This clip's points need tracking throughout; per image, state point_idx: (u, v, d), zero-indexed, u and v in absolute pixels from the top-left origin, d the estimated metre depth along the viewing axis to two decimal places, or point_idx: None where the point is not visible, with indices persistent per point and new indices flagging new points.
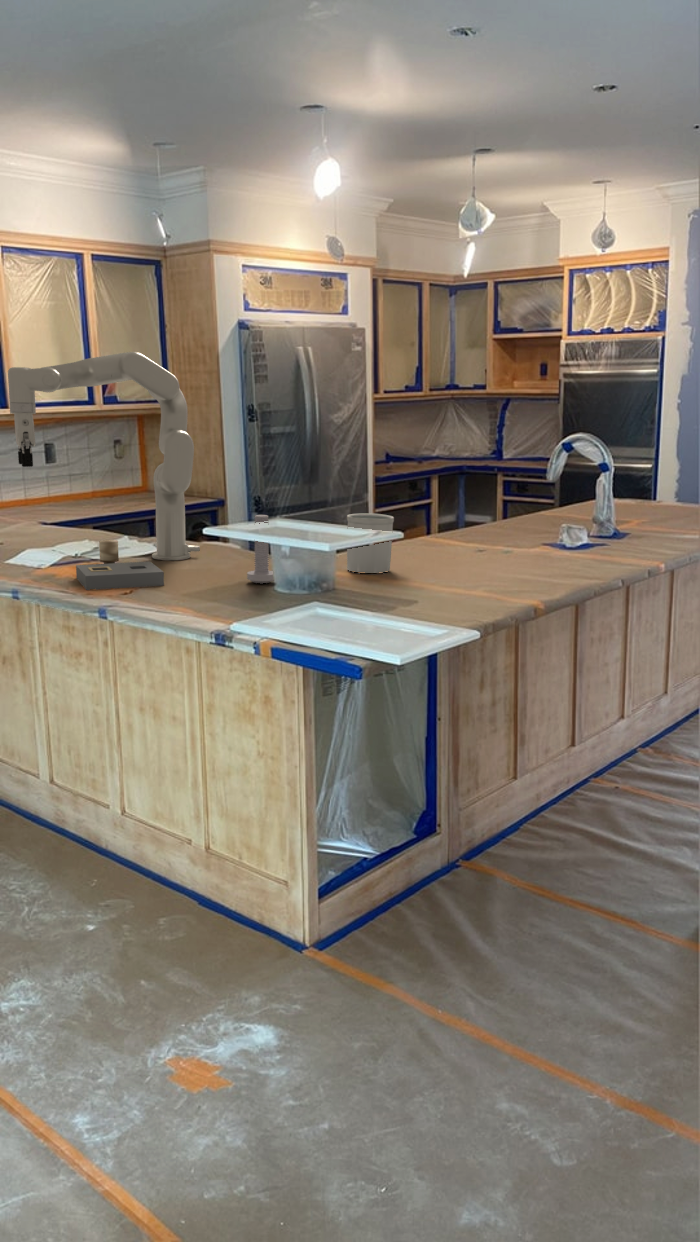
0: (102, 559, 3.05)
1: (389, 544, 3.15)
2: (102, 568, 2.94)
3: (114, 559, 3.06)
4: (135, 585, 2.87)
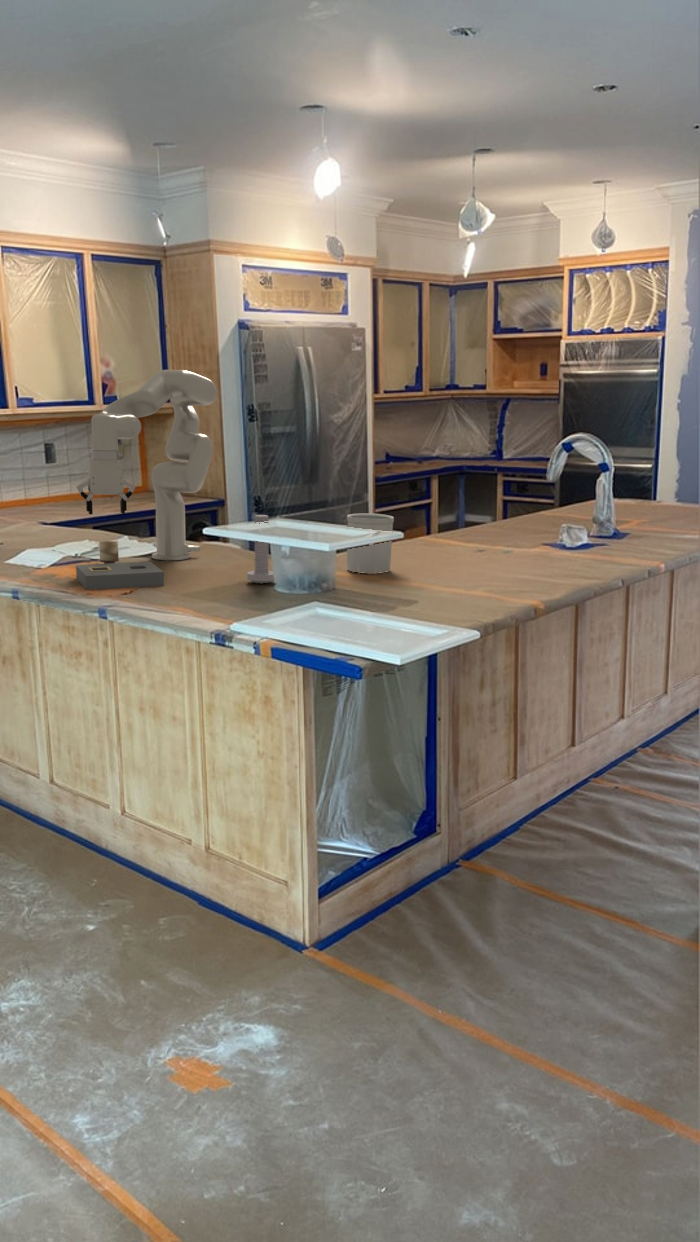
0: (102, 559, 3.05)
1: (389, 544, 3.15)
2: (102, 568, 2.94)
3: (114, 559, 3.06)
4: (135, 585, 2.87)
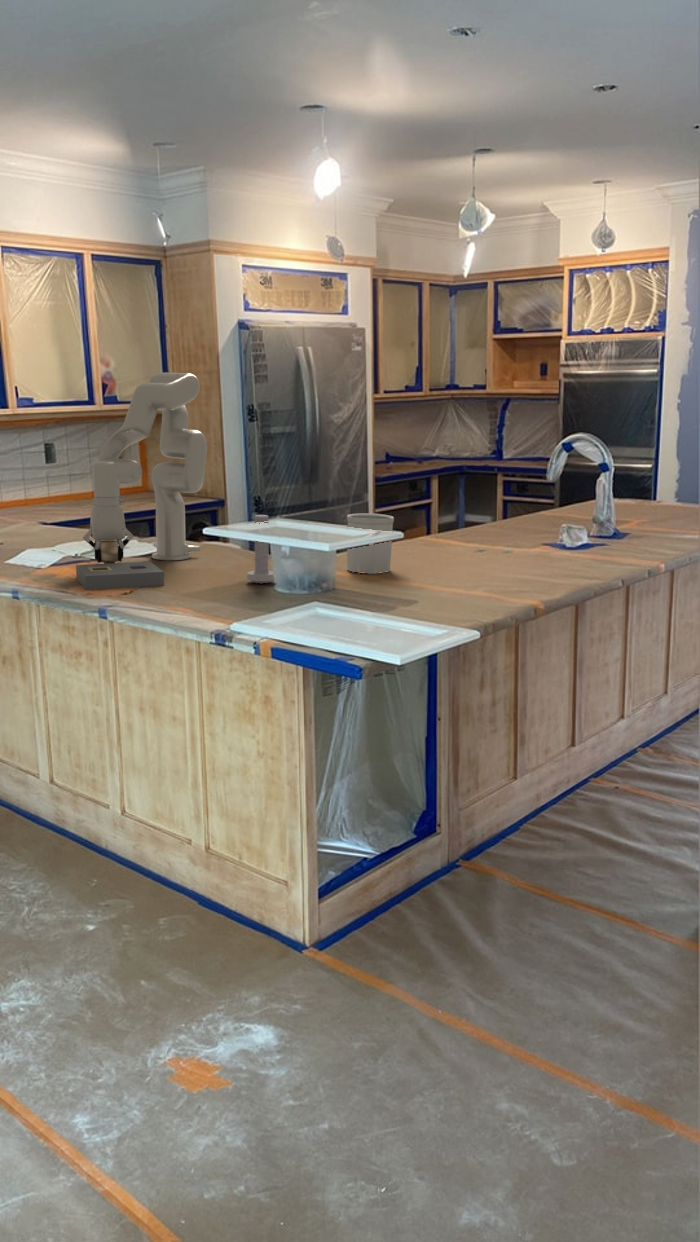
0: (102, 559, 3.05)
1: (389, 544, 3.15)
2: (102, 568, 2.94)
3: (114, 559, 3.06)
4: (135, 585, 2.87)
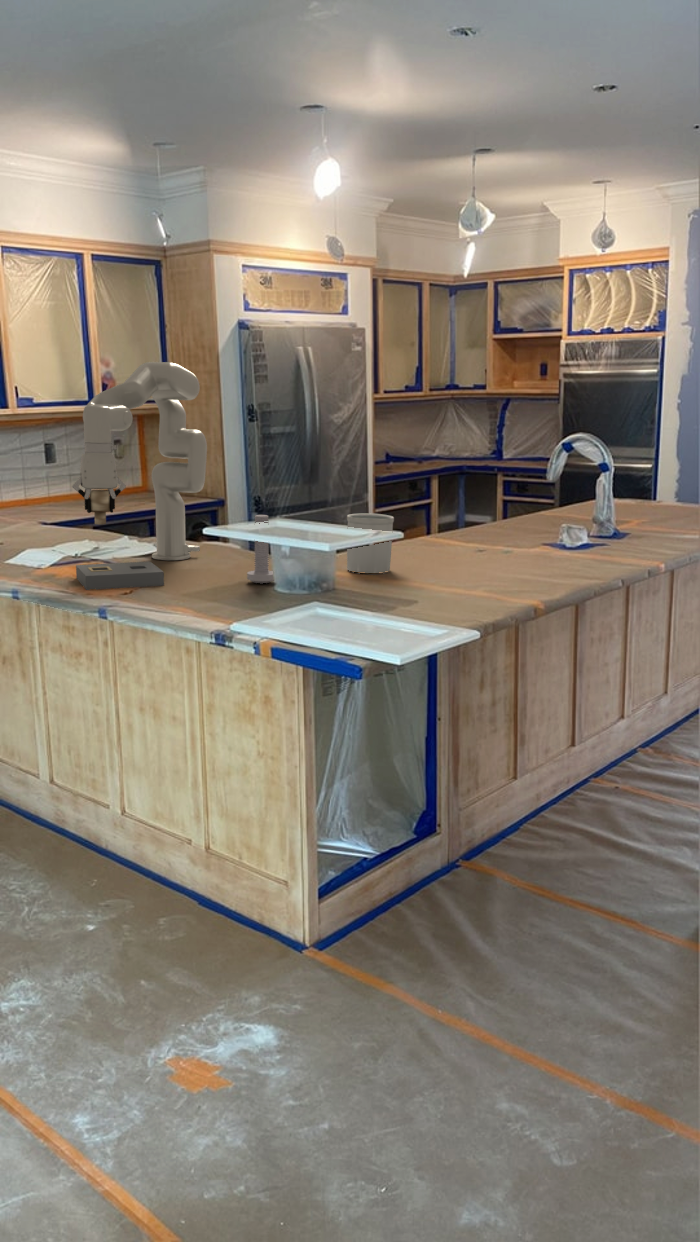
0: (92, 509, 2.89)
1: (389, 544, 3.15)
2: (102, 568, 2.94)
3: (105, 509, 2.90)
4: (135, 585, 2.87)
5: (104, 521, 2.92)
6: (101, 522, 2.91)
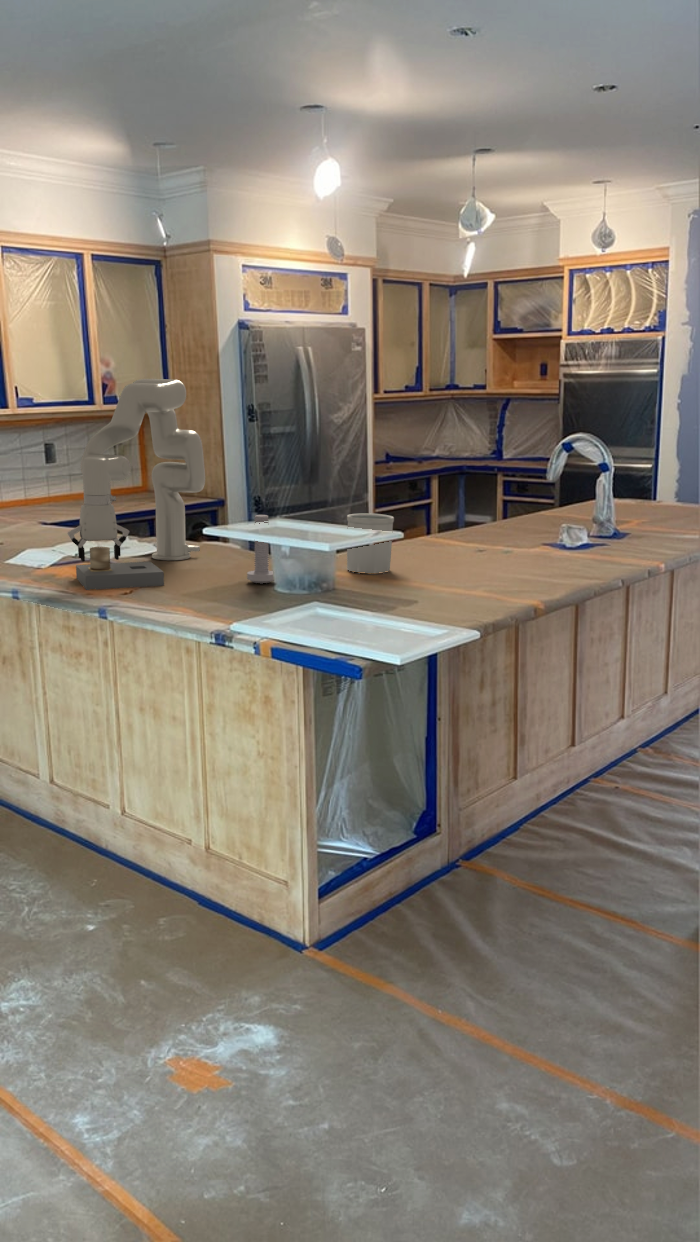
0: (93, 567, 2.89)
1: (389, 544, 3.15)
2: None
3: (105, 567, 2.89)
4: (135, 585, 2.87)
5: None
6: None
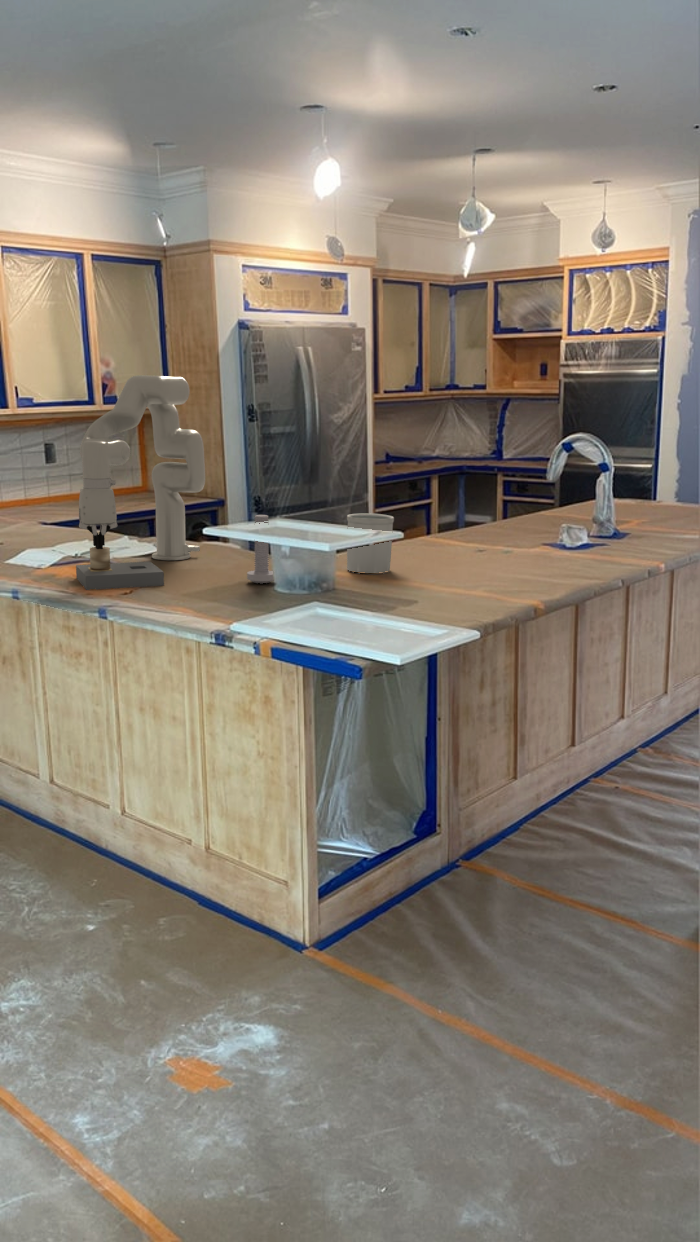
0: (93, 567, 2.89)
1: (389, 544, 3.15)
2: None
3: (105, 567, 2.89)
4: (135, 585, 2.87)
5: None
6: None
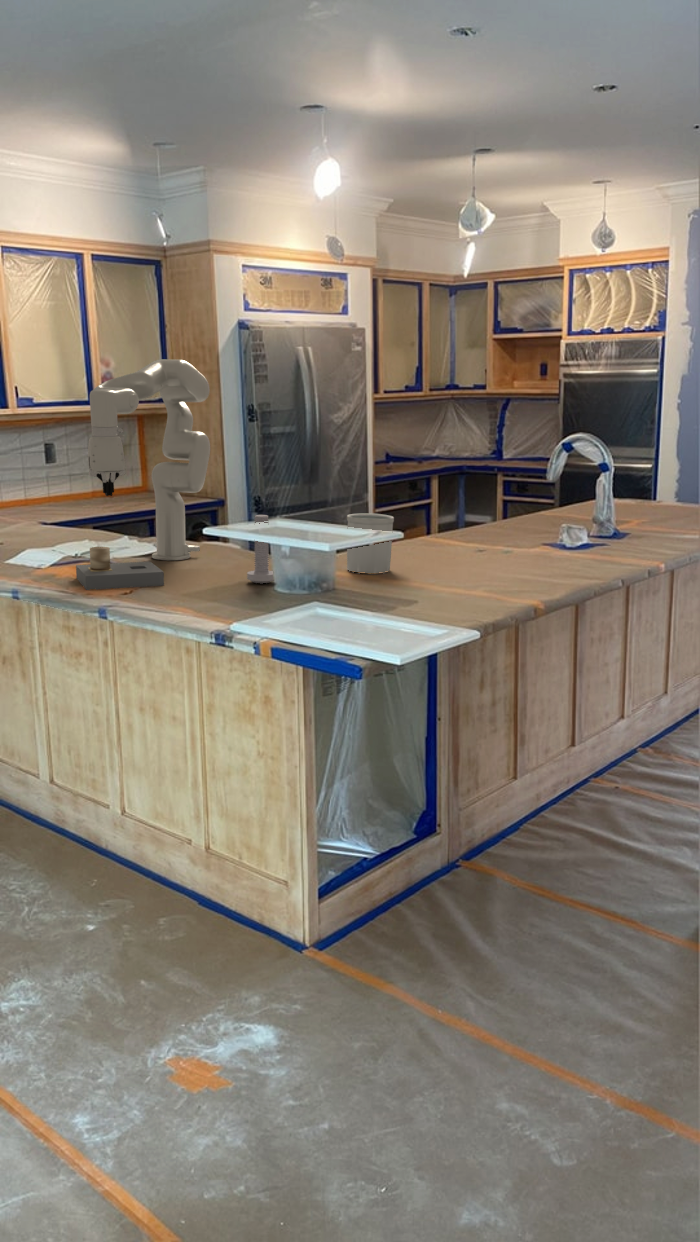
0: (93, 567, 2.89)
1: (389, 544, 3.15)
2: None
3: (105, 567, 2.89)
4: (135, 585, 2.87)
5: None
6: None
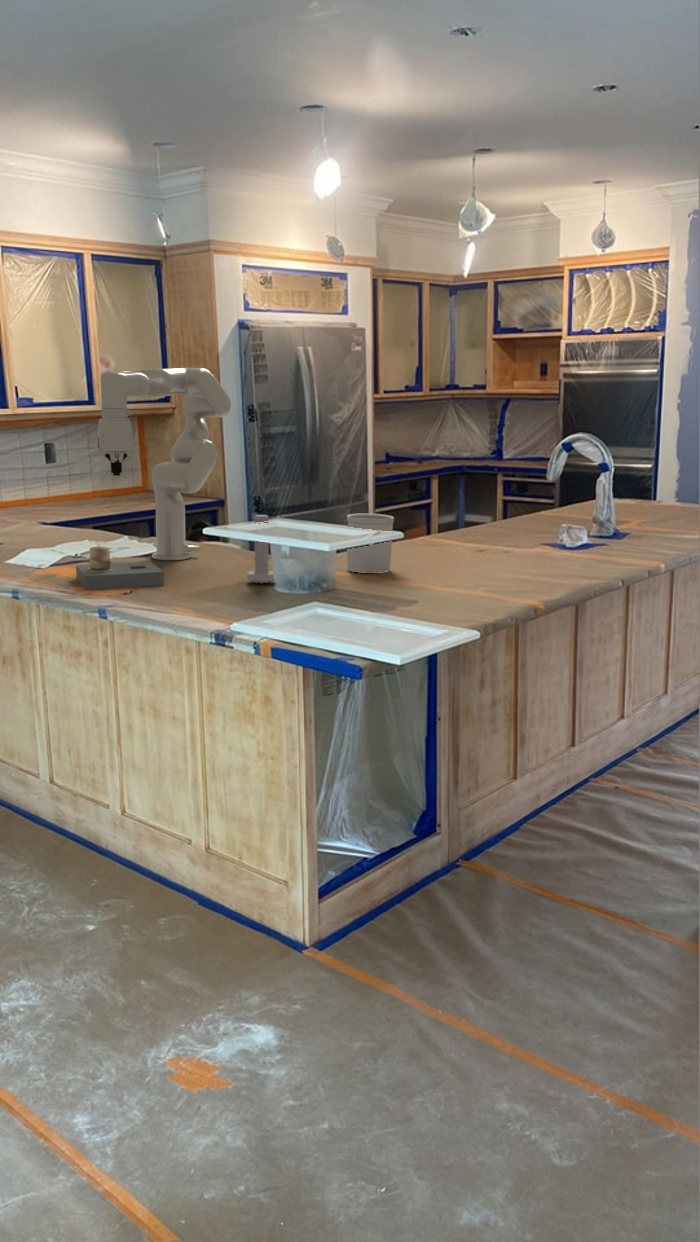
0: (93, 567, 2.89)
1: (389, 544, 3.15)
2: None
3: (105, 567, 2.89)
4: (135, 585, 2.87)
5: None
6: None
